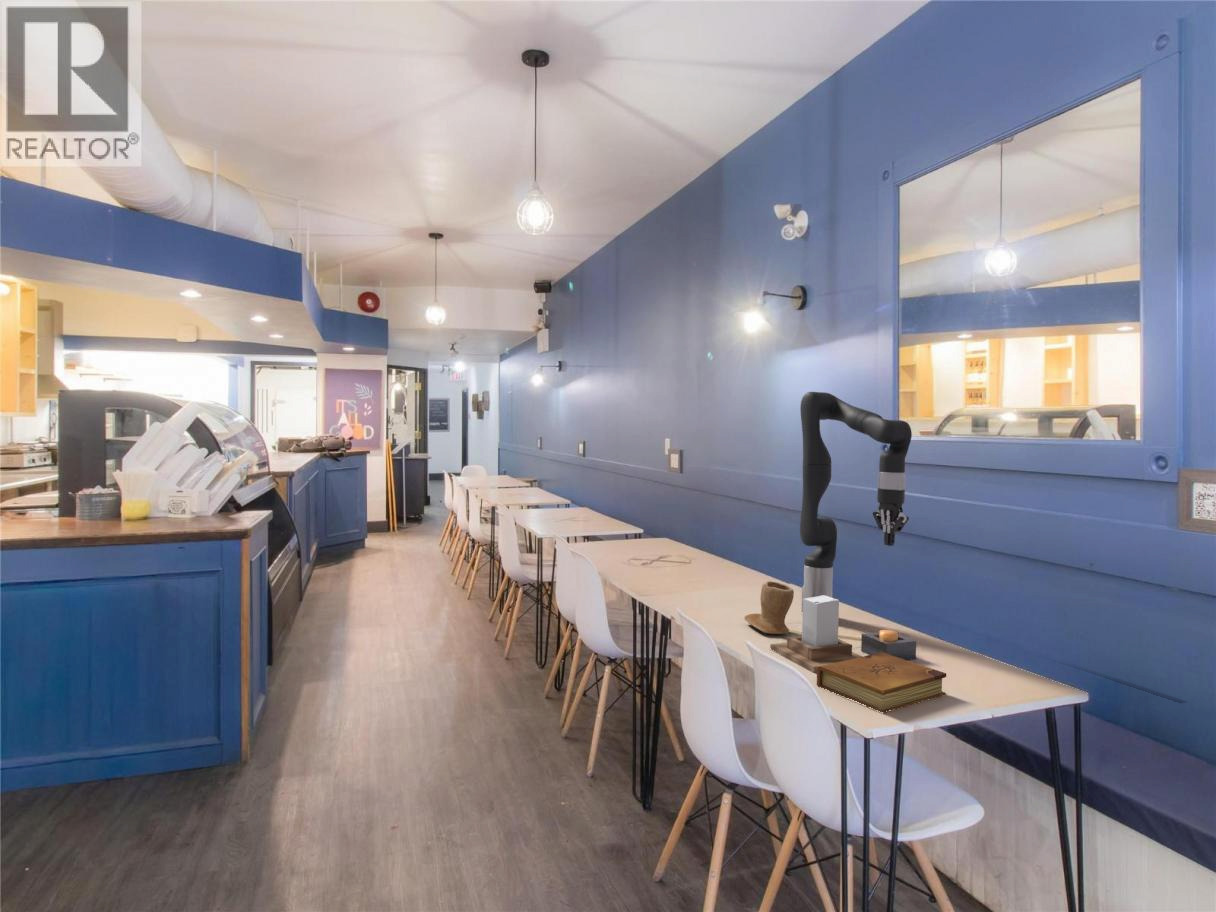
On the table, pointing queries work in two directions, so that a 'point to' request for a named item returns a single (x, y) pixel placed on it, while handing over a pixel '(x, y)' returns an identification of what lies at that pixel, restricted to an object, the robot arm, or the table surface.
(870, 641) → the button housing
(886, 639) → the button
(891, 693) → the diary
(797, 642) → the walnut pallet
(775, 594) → the brown hat
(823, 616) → the skincare box
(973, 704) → the table surface
